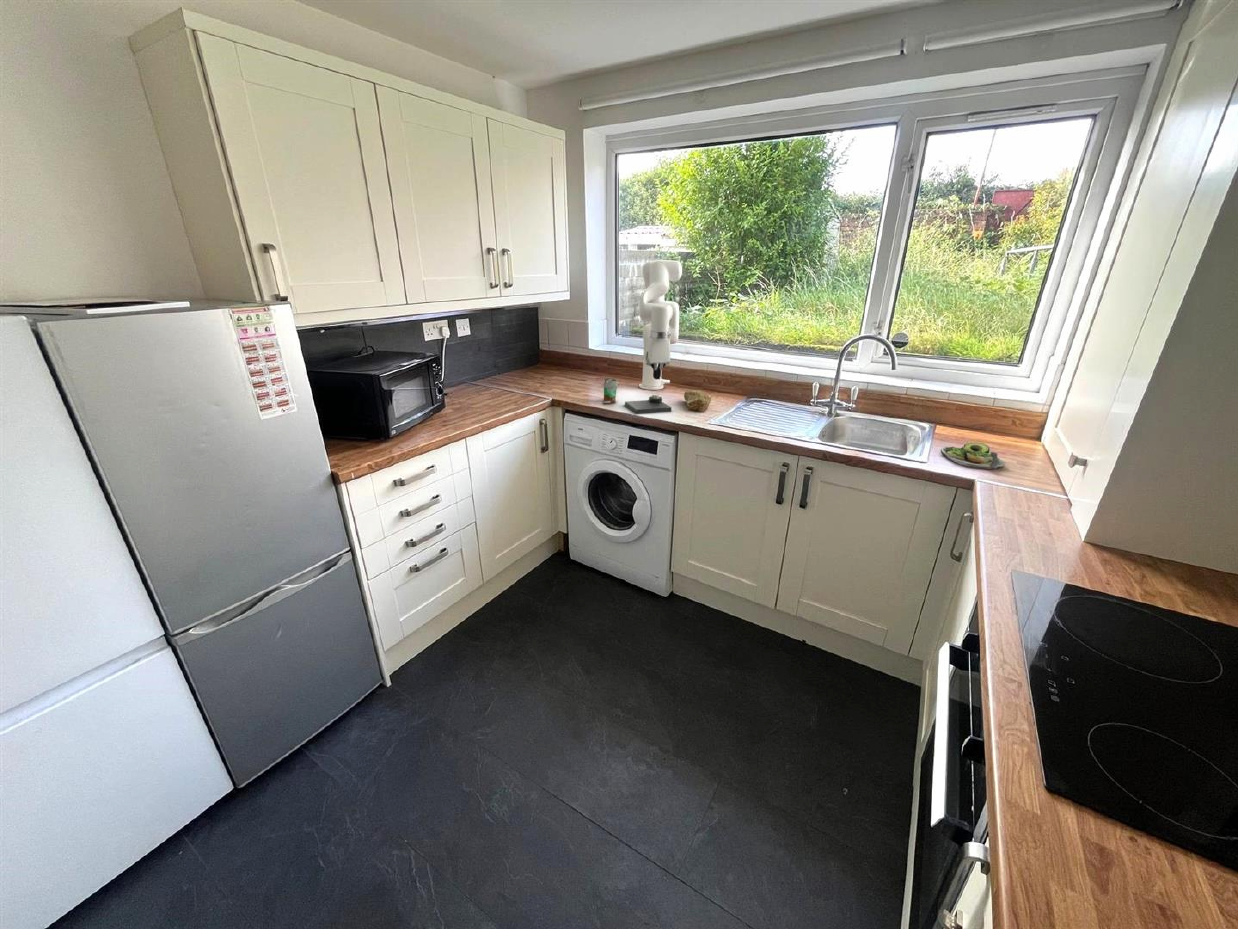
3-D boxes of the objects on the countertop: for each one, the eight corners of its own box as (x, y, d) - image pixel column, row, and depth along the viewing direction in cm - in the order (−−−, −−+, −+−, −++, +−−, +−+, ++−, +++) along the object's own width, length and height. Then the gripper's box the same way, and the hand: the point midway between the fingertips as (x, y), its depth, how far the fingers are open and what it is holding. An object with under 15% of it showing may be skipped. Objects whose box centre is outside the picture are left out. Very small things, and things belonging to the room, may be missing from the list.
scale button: (657, 397, 222) (657, 393, 221) (659, 399, 219) (659, 395, 219) (651, 397, 221) (651, 394, 220) (653, 399, 219) (654, 395, 218)
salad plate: (1021, 475, 155) (1026, 461, 154) (959, 470, 158) (963, 456, 156) (989, 454, 173) (993, 442, 171) (934, 450, 176) (937, 437, 174)
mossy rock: (709, 415, 213) (714, 396, 229) (707, 399, 209) (712, 380, 225) (679, 417, 217) (686, 398, 233) (676, 401, 213) (684, 382, 229)
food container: (617, 406, 218) (618, 383, 215) (603, 405, 218) (603, 382, 215) (618, 399, 230) (618, 377, 226) (604, 398, 230) (605, 377, 226)
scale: (658, 403, 225) (658, 395, 224) (671, 411, 212) (672, 403, 211) (624, 405, 219) (624, 397, 218) (636, 414, 207) (636, 405, 206)
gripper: (671, 334, 216) (668, 376, 222) (639, 334, 211) (637, 377, 217) (679, 336, 209) (676, 379, 216) (646, 336, 204) (644, 381, 211)
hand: (656, 378), depth 217 cm, fingers closed
